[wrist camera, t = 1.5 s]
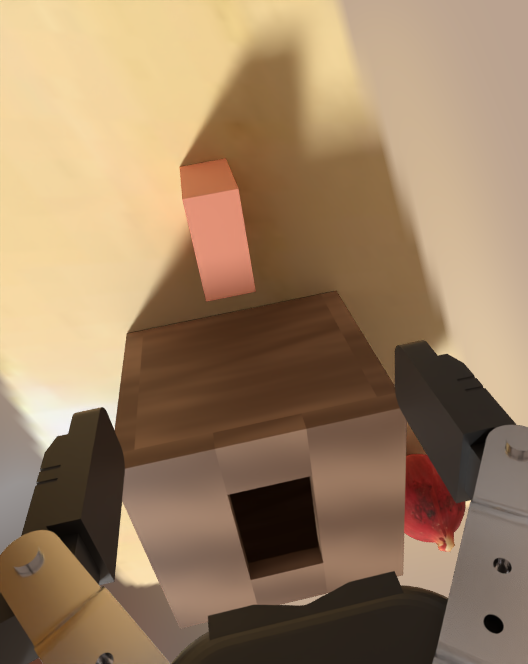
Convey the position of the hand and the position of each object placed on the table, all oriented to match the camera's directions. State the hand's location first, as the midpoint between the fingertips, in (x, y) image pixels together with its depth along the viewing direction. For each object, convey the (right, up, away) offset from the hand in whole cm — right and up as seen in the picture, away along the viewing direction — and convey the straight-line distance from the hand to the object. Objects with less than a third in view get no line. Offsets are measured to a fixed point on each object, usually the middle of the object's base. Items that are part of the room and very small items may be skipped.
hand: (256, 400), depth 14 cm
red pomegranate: (+11, -8, +27) cm, 30 cm away
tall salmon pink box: (-3, +9, +13) cm, 16 cm away
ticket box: (-1, -2, +21) cm, 21 cm away
